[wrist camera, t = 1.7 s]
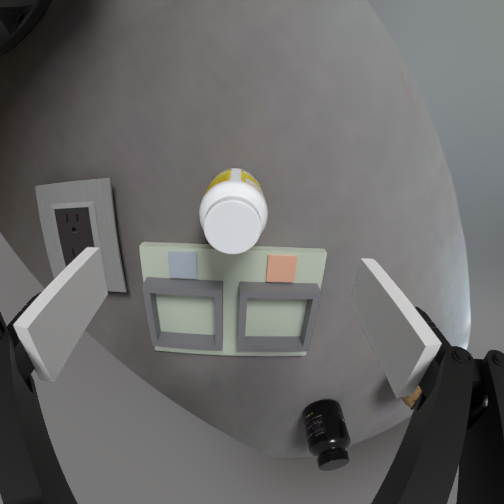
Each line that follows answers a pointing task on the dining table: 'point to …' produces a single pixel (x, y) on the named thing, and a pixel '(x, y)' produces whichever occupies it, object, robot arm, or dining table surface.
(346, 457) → the supplement bottle
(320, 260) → the tag board
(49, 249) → the electrical outlet
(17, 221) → the dining table surface
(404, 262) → the dining table surface
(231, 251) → the supplement bottle
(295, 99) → the dining table surface
